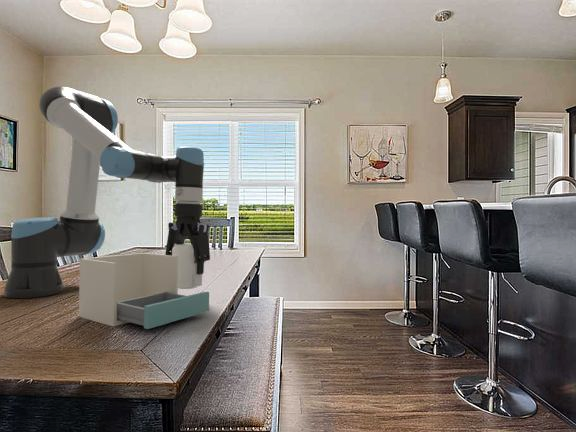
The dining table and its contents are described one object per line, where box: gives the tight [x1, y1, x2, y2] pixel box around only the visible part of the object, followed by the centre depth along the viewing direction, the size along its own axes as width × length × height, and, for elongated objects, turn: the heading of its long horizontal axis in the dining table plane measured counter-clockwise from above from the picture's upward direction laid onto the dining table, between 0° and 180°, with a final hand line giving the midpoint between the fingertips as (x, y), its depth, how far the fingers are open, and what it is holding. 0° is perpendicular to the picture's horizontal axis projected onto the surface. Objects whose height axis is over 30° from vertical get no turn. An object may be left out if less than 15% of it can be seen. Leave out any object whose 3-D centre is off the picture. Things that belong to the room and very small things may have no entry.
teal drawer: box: [117, 291, 210, 330], centre depth 87 cm, size 14×18×5 cm
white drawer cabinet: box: [78, 252, 179, 327], centre depth 93 cm, size 14×18×14 cm
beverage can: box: [172, 242, 200, 290], centre depth 104 cm, size 8×8×12 cm
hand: (186, 283), depth 104 cm, fingers closed on beverage can, 8 cm apart
